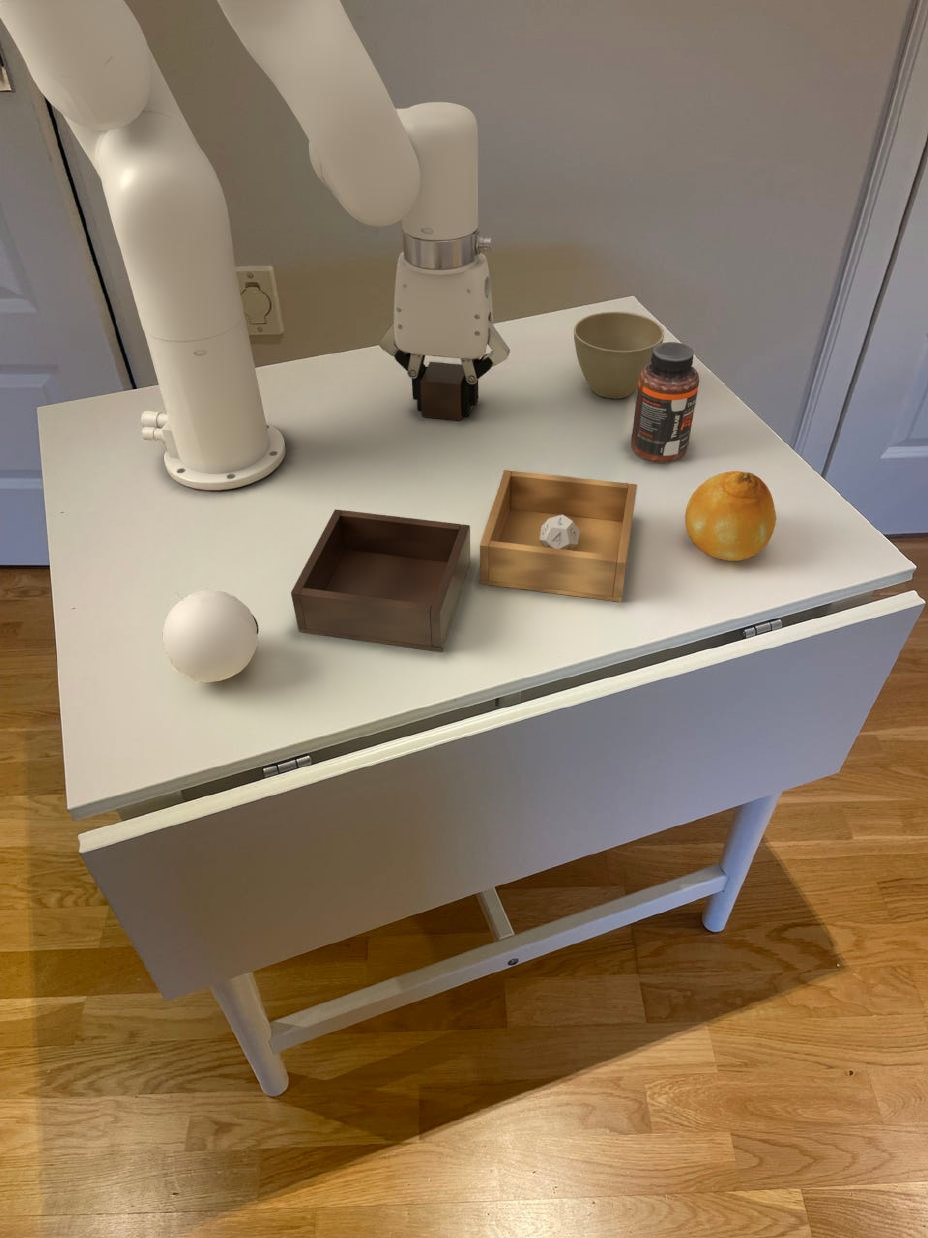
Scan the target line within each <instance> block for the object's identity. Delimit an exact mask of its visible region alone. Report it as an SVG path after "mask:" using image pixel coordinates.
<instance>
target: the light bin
mask: <svg viewBox="0 0 928 1238" xmlns="http://www.w3.org/2000/svg"><path fill="white" fill-rule="evenodd" d="M500 478H501V479H500V482H499V484H498V488H497V491H496V494H495V497H494V500H493V503H492V506H491V509H490V512H489V515H488V517H487V521H486V525H485V528H484V531H483V534H482V536H481V537H482V538H481V540H480V543H479V584H480V585H486V586H494V587H501V588H502V587H503V588H508V589H509V588H510V589H518V590H526V591H534V592H541V593H548V594H556V595H565V596H573V597H581V598H586V599H588V598H589V599H596V600H602V601H611V602H619V603H621V602H622V599H623V591H624V584H625V577H626V570H627V563H628V556H629V550H630V549H629V547H630V541H631V535H632V534H631V533H632V527H633V519H634V512H635V505H636V504H635V503H636V497H637V490H638V484H637V483H628V482H621V481H612V480H600V479H593V478H592V479H591V478H583V477H573V476H563V475H555V474H545V473H538V472H537V473H536V472H535V473H534V472H527V471H519V470H518V471H517V470H510V469H509V470H507V469H504V470H503V473H502V475H501V477H500ZM559 515H564V516H566V517H567V518H569V519H570V520H572V521H573V522H574V523H575V524H576V526H577V527H578V529H579V530H580V534H579V540H578V545H577V546H576V547H574V548H573V549H572V550H563V549H555V548H547V547H545V546H544V545H543V543H542V542H541V541H540V540H539V539H540V534H541V528H542V525H543V524H544V523H545V522H546V521H547V520H548V519H549V518H552V517H555V516H559Z"/></svg>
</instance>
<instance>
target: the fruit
mask: <svg viewBox="0 0 928 1238" xmlns="http://www.w3.org/2000/svg"><path fill="white" fill-rule="evenodd" d="M772 495H773V494H772V493H771V490H770V489H769V487H768V486H767V484H766V483H765V481H764V480H762V479H761V477H759V476H757V475H755V474H754V473H753V472H747V471H741V470H730V471H725V472H721V473H717V474H715V475H712V476H711V477H709V478H708V479H706V480H705V481H704V482H702V483H701V484H700V485H699V486H698V487H697V488H696V489H695V491H694V492H693V493H692V495H691V496H690V498H689V499H688V502H687V504H686V507H685V513H684V514H685V515H684V523H685V528H686V532H687V535H688V537H689V538H690V540H691V542H692V543H693V544H694V545H695V546H696V548H697V549H698V550H700V551H701V552H703V553H705V554H707V555H708V556H710V557H712V558H715V559H719V560H722V561H728V562H729V561H730V562H738V561H743V560H744V561H745V560H749V559H750V558H753V557H754V556H755V557H756V555H758V554H759V553H760V552H761V551H762V550H764V548H765V547H767V546H768V544H769V542H770V540H771V539H772V537H773V535H774V533H775V528H776V523H777V512H776V509H775V507H776V506H775V502H774V498H773V496H772Z"/></svg>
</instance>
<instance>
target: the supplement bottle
mask: <svg viewBox="0 0 928 1238" xmlns="http://www.w3.org/2000/svg"><path fill="white" fill-rule="evenodd" d="M694 356H695V351H694V350H693V348H692V347H690V345H687V344H685V343H681V342H676V341H666V342H663V343H661V344H658V345H656V346H655V347H654V349H653V353H652V357H651V363H649V364H648V365H646V366H645V367H644V368H643V369H642V371H641V373H640V377H639V384H638V388H637V391H636V400H635V407H634V415H633V424H632V433H631V442H630V443H631V444H630V445H631V448H632V450H633V452H634V453H635V454H636V455H637V456H638V457H640V458H642V459H644V460H646V461H649V462H650V461H651V462H656V463H670V462H674V461H677V460H679V459H680V458H682V457H683V456H684V455H685V454H686V452H687V450H688V447H689V443H690V436H691V431H692V426H693V419H694V413H695V409H696V404H697V397H698V392H699V385H700V376H699V373H698V371H697V369H695V367H693V364H694Z"/></svg>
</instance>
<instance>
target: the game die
mask: <svg viewBox="0 0 928 1238" xmlns="http://www.w3.org/2000/svg"><path fill="white" fill-rule="evenodd" d="M579 534H580V530H579V529H578V527H577V526H576V524H575V523H574V522H573V521H572V520H570V519H569V518H567V517H566V516H564V515H559V516H555V517H552V518H549V519H548V520H547V521H546V522H545V523H544V524H543V525H542V528H541V534H540V539H539V540H540V541H541V542H542V543H543V545H544V546H545V547H547V548H555V549H563V550H572V549H573V548H574V547H576V546H577V545H578V540H579Z"/></svg>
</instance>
